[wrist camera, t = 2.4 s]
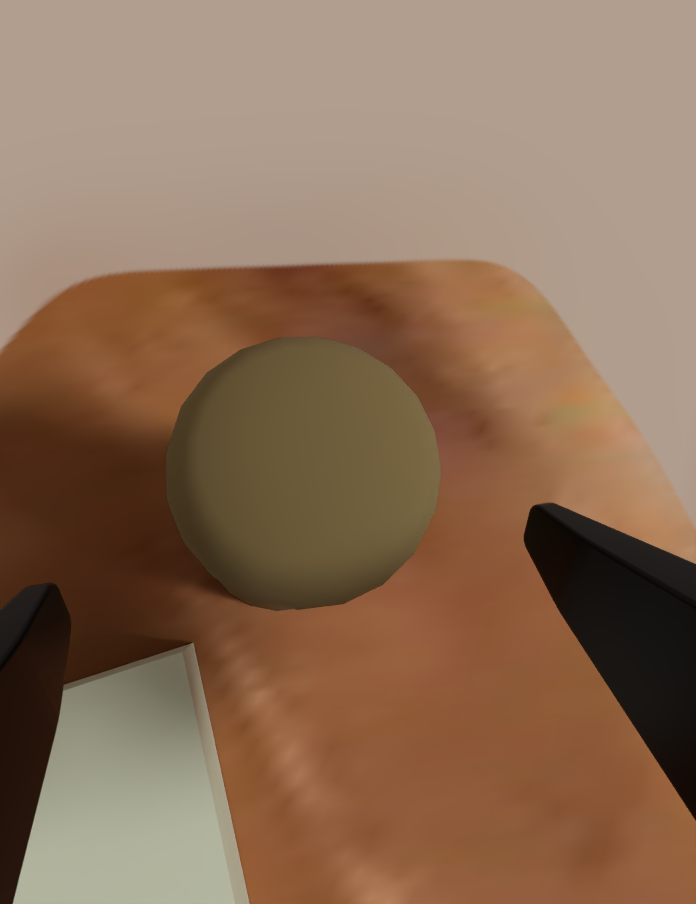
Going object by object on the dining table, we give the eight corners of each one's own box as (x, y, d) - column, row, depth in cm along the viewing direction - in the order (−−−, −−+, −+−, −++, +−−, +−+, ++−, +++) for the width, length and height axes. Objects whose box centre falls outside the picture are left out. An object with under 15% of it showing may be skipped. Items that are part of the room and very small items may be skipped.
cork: (164, 538, 17) (21, 461, 7) (275, 420, 19) (294, 222, 9) (293, 647, 17) (345, 738, 7) (391, 517, 19) (552, 430, 9)
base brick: (249, 905, 15) (248, 966, 12) (-45, 1044, 13) (-113, 1146, 11) (193, 642, 17) (182, 651, 14) (-75, 729, 15) (-139, 757, 12)
